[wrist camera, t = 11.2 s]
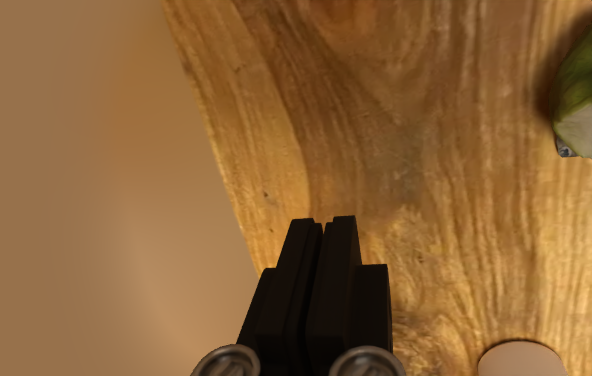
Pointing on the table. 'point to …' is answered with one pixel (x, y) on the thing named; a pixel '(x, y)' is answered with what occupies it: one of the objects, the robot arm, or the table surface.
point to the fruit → (574, 99)
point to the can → (520, 360)
